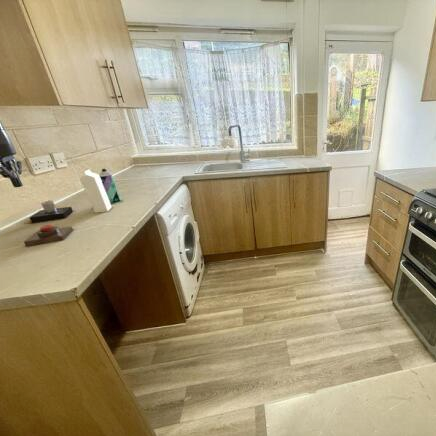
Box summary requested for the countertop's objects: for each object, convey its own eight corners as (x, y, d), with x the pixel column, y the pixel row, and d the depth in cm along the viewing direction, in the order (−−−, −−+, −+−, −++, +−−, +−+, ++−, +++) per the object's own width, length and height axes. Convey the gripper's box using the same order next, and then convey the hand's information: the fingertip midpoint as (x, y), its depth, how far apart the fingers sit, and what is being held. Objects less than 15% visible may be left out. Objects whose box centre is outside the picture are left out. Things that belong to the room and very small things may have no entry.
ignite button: (39, 233, 99) (37, 229, 98) (44, 229, 102) (42, 225, 101) (50, 231, 100) (49, 227, 100) (54, 228, 103) (53, 224, 103)
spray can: (111, 202, 144) (98, 168, 135) (122, 200, 146) (109, 167, 137) (110, 205, 139) (96, 170, 131) (121, 202, 141) (108, 169, 133)
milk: (112, 208, 134) (96, 168, 125) (108, 212, 129) (91, 170, 119) (99, 209, 132) (82, 169, 123) (94, 213, 127) (77, 172, 118)
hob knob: (54, 212, 122) (50, 202, 120) (43, 213, 120) (38, 203, 118) (58, 209, 126) (54, 199, 123) (47, 210, 124) (43, 201, 122)
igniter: (26, 246, 96) (21, 237, 95) (39, 235, 105) (35, 227, 103) (63, 240, 100) (59, 232, 99) (73, 230, 109) (69, 222, 107)
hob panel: (32, 223, 118) (29, 217, 116) (42, 215, 126) (39, 210, 125) (65, 218, 122) (62, 212, 121) (73, 211, 131) (70, 206, 129)
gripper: (-5, 141, 97) (16, 183, 104) (-30, 145, 86) (-5, 192, 93) (20, 140, 100) (38, 181, 107) (-2, 144, 88) (21, 189, 95)
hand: (18, 186), depth 100 cm, fingers closed
